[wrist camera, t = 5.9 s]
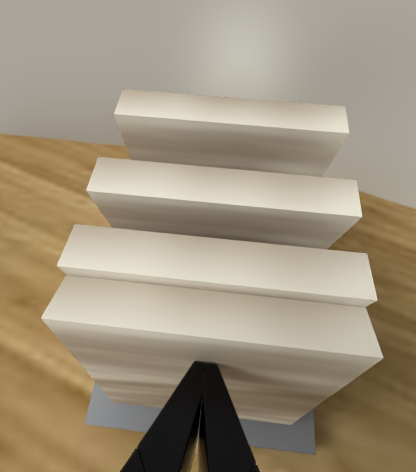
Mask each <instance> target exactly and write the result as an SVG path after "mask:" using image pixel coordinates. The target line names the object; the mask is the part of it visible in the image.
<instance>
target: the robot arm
mask: <svg viewBox="0 0 416 472" xmlns="http://www.w3.org/2000/svg"><path fill="white" fill-rule="evenodd" d="M204 374H205V375H204ZM202 393H203V394H202ZM201 403H202V404H201ZM200 413H201V414H200ZM199 423H200V424H199ZM198 431H199V441H198V460H199V472H260V471H259V468H258V466H257V465H256V461H255V459H254V456H253V453H252V451H251V448H250V446H249V443H248V441H247V438H246V436H245V433H244V430H243V428H242V425H241V423H240V420H239V418H238V415H237V412H236V410H235V407H234V405H233V402H232V400H231V397H230V395H229V392H228V389H227V387H226V384H225V382H224V379H223V377H222V374H221V372H220V369H219V366H218V365H217V364H215V363H206V365H205V363H204V362H199V361H194V362H193V363H192V365H191V366H190V368H189V369H188V371H187V372H186V374H185V375H184V377H183V378H182V380H181V381H180V383H179V384H178V386H177V387H176V389H175V390H174V392H173V393H172V395H171V396H170V398H169V399H168V401H167V402H166V404H165V405H164V407H163V408H162V410H161V411H160V413H159V414H158V416H157V417H156V419H155V420H154V422H153V423H152V425H151V426H150V428H149V429H148V431H147V432H146V434H145V435H144V437H143V438H142V440H141V441H140V443H139V444H138V446H137V448H136V449H135V450H134V452H133V453H132V455H131V456H130V458H129V459H128V461H127V462H126V464H125V465H124V466H123V468H122V469H121V471H120V472H190V471H191V467H192V462H193V457H194V452H195V448H196V443H197V437H198Z"/></svg>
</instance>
